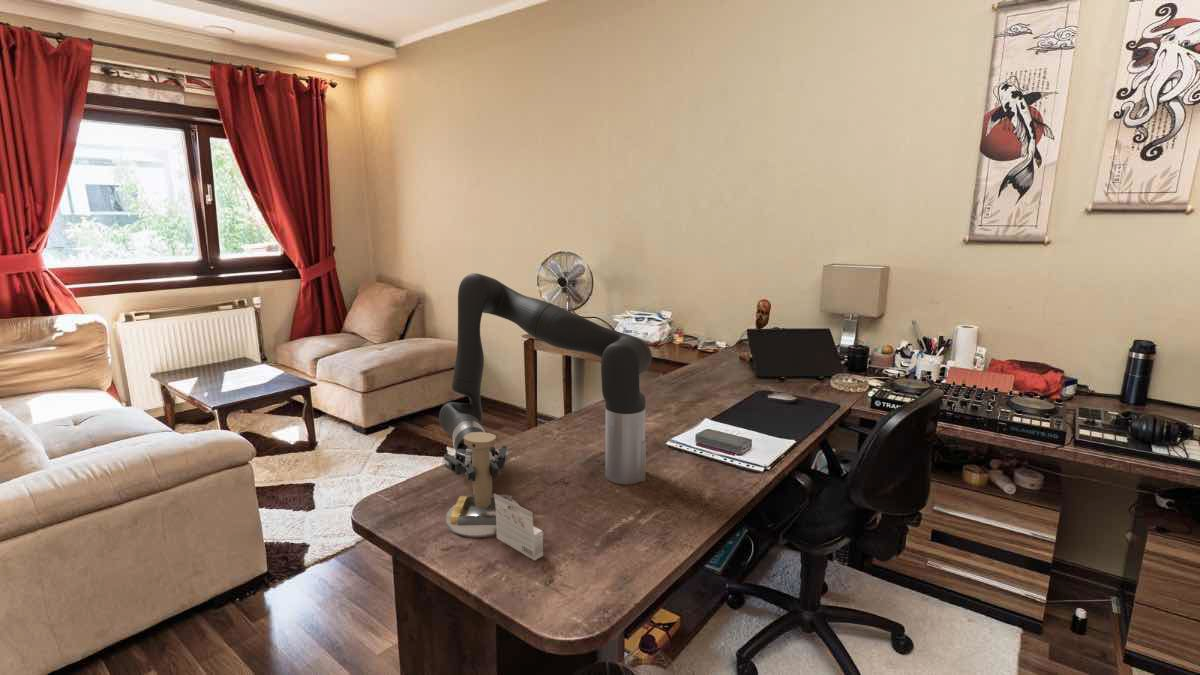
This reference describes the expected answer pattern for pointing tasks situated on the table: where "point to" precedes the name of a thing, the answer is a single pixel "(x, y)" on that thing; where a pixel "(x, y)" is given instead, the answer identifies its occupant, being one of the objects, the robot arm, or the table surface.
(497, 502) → the ink cartridge box
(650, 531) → the table surface
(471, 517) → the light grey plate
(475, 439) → the handle
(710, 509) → the table surface
